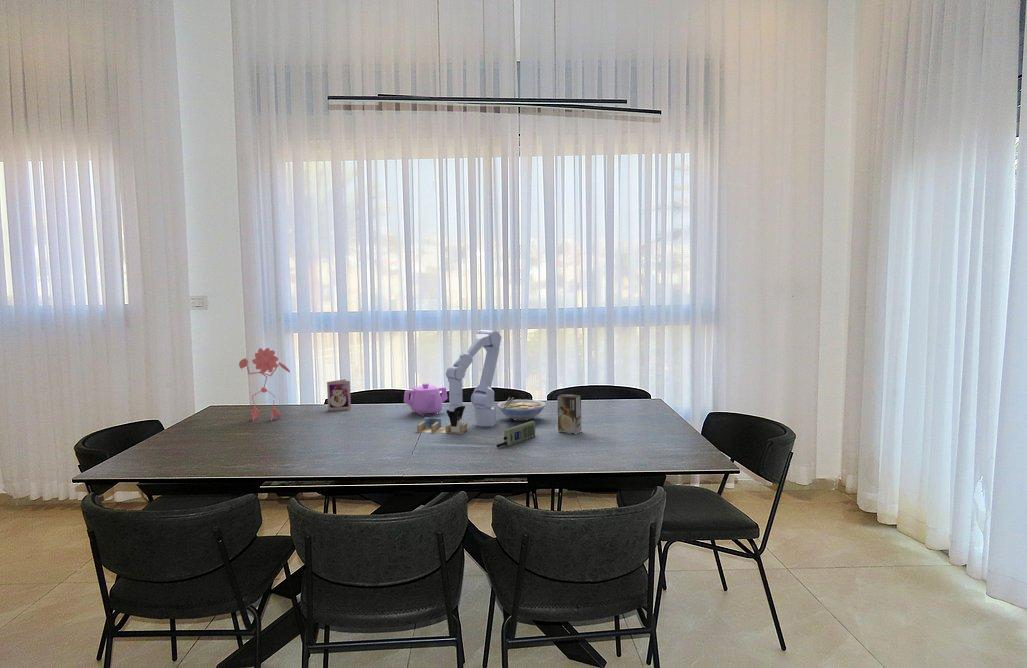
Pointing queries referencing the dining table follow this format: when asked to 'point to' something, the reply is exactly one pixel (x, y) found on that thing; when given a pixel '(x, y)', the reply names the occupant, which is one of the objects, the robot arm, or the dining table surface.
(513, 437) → the handheld radio
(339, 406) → the greeting card
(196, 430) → the dining table surface
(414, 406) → the teapot
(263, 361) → the figurine
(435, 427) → the cable comb
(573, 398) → the coffee box
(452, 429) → the grey rectangular block
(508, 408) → the ramen bowl
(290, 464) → the dining table surface
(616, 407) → the dining table surface
